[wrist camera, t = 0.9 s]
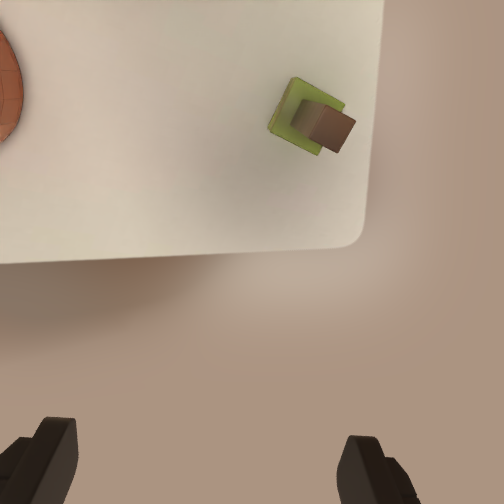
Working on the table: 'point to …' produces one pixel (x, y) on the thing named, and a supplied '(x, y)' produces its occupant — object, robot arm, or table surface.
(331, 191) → the table surface
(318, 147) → the green-headed mallet
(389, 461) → the robot arm
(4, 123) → the bowl
